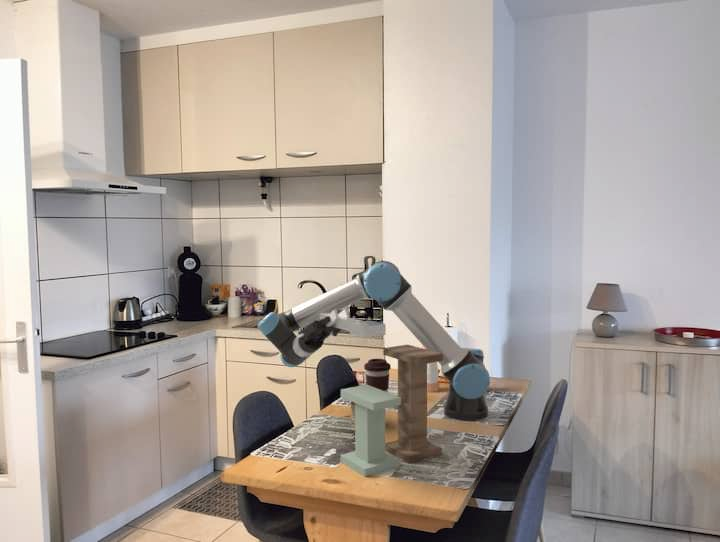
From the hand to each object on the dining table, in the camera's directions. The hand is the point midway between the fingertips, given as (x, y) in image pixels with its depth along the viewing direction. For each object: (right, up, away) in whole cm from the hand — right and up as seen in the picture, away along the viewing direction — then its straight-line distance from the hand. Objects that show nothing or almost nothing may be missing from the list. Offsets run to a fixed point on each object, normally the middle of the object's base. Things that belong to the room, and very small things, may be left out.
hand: (341, 313), depth 176 cm
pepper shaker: (+33, -35, +67) cm, 82 cm away
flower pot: (+7, -39, +26) cm, 47 cm away
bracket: (+2, -4, -2) cm, 5 cm away
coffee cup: (+12, -37, +54) cm, 66 cm away
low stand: (+8, -41, -8) cm, 43 cm away
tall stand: (+21, -41, +1) cm, 45 cm away
